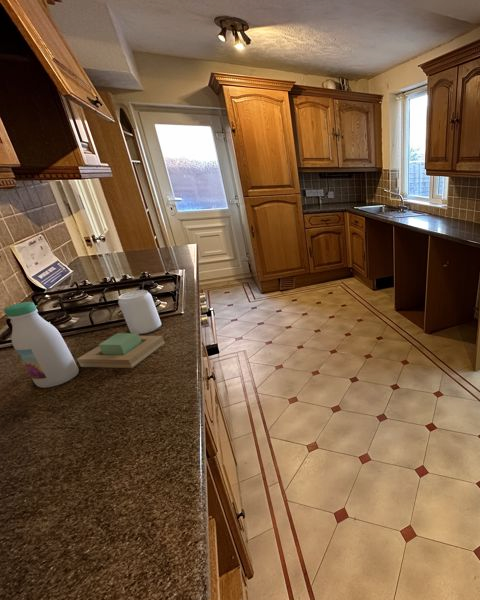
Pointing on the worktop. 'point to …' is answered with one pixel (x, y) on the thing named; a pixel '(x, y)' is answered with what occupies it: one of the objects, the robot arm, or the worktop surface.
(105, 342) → the green block
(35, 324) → the milk bottle
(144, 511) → the worktop surface
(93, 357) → the base pad
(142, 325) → the white cylindrical container
